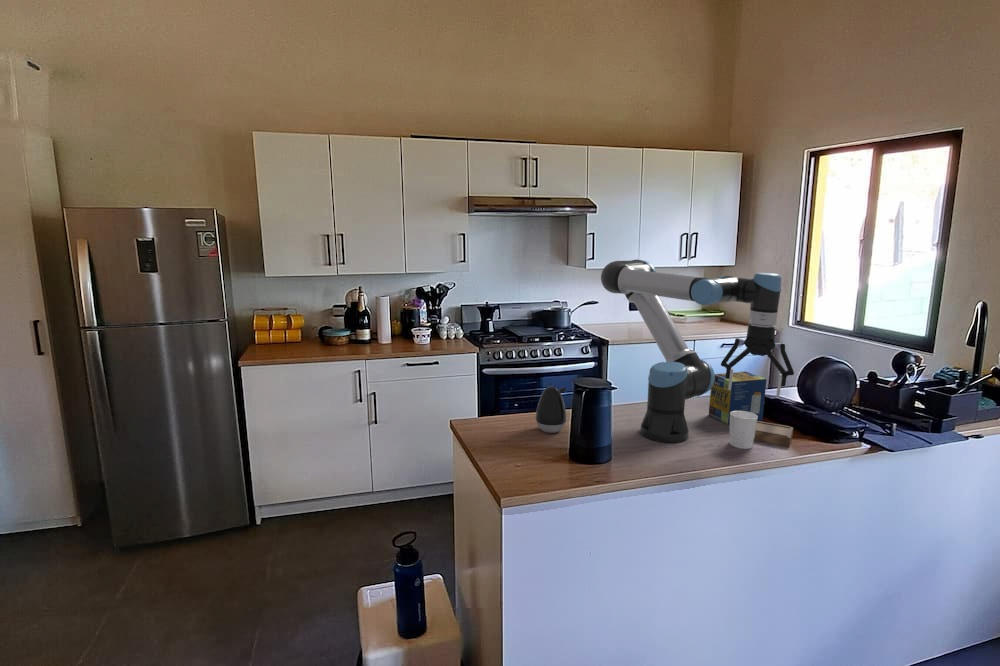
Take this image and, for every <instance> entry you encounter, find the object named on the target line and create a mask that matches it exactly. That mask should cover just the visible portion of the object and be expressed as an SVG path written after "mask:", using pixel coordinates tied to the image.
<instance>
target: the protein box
mask: <svg viewBox="0 0 1000 666" xmlns="http://www.w3.org/2000/svg"><path fill="white" fill-rule="evenodd" d="M714 374H715V381H714V384H713V386H712V388H711V389H710V392H709V407H708V416H709V417H712V418H714V419H717V420H719V421H721V422H722V423H725V424H726V425H730V412H732V411H747V412H751V413H754V414H756V415H757V416H758V418H757V421H763V418H764V407H765V398H766V389H767V387H766V386H767V378H765V377H762V376H760V375H756V374H754V373H751V372H748V371H737V372H735V371H734V372H733V377H732V386H731V390H728V386H729V379H726V372H725V373H714Z"/></svg>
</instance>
